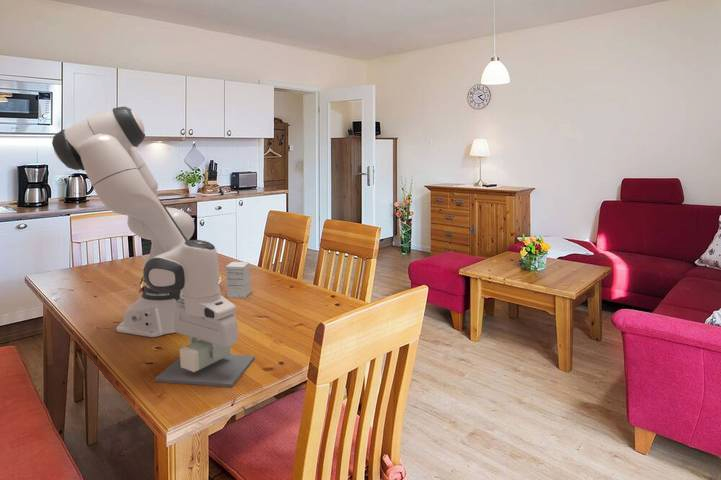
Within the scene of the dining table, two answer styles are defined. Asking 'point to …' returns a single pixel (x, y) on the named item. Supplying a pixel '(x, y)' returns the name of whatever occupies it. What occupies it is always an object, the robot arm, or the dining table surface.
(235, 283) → the supplement box
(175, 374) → the rubber mat
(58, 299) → the dining table surface
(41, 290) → the dining table surface
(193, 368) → the sage block
